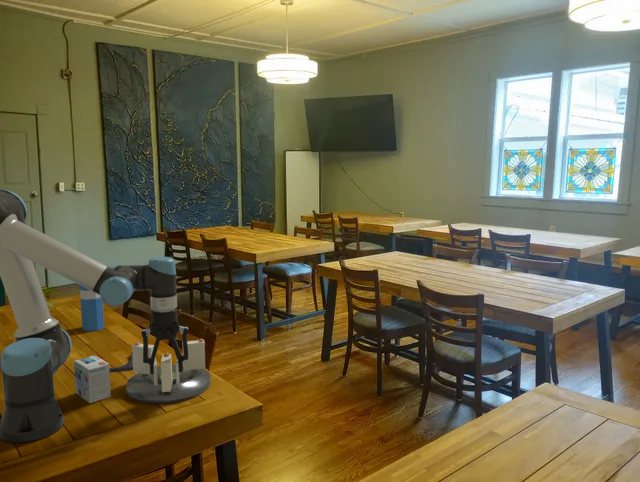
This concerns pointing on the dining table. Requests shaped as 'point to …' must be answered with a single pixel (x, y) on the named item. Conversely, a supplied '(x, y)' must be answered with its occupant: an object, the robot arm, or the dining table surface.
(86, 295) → the water bottle
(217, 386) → the dining table surface
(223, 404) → the dining table surface
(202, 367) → the beige upright box
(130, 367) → the bracket
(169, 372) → the white block with knob
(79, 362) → the light bulb box
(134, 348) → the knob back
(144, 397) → the plate
